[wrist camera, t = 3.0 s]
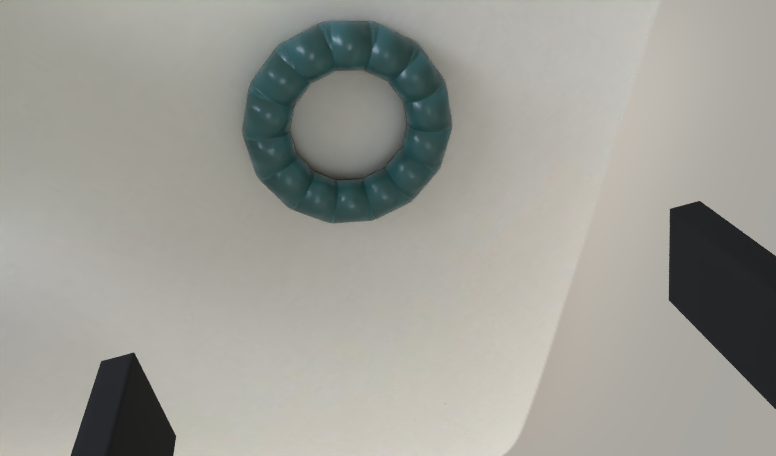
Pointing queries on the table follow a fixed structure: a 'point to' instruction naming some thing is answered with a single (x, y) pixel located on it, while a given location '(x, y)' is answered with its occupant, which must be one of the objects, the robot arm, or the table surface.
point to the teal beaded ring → (316, 60)
